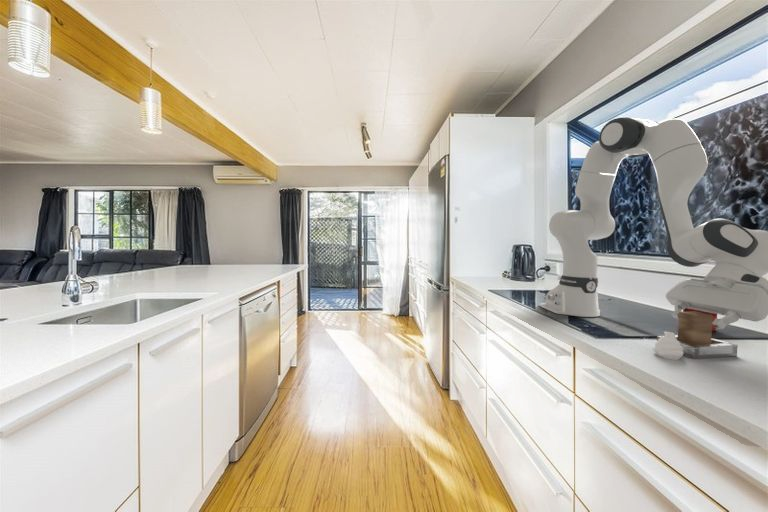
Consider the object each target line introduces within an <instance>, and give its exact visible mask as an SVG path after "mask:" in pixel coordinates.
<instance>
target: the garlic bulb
mask: <svg viewBox="0 0 768 512" xmlns="http://www.w3.org/2000/svg"><path fill="white" fill-rule="evenodd" d="M663 334H664V335H662V336H663V337H660V338H659V339H658V341H657V340H656V342H655V343H654V346H653V348H652V349H653V352H654V354H656V356H658V357H660V358H663V359H668V360H674V361H675V360H680V359H681V358H682V357H683V356H684V355H683V351H682V350H683V347H682V346H680V342H679V341H678V340H677V338H676V336H675V335H676V334H675V333H674V332H669V331H663Z"/></svg>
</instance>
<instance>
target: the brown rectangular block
mask: <svg viewBox="0 0 768 512" xmlns="http://www.w3.org/2000/svg"><path fill="white" fill-rule="evenodd" d="M712 322H713V315H711V314H706V313H701V312H696V311H688V312H683V311H681V312H679V319H678V326H677V327H678V328H677V330H678V331H677V335H678V341H681V342H684V343H688V344H691V345H702V344H711V338H712V336H713V335H712V334H713V333H712V332H713V331H712Z"/></svg>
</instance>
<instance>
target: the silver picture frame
mask: <svg viewBox="0 0 768 512" xmlns="http://www.w3.org/2000/svg"><path fill="white" fill-rule="evenodd" d="M663 336H664V335H657V336H656V342H657V341H658V339H659V338H660V337H663ZM675 336H676V338H677V340H678V334H675ZM679 342H680V346H682V347H683V350H682V351H683V356H684V357H688V358H690V359H693V360H696V359H709V358H710V359H713V358H727V357H729V358H730V357H737V356H738V349H739V348H738V347H739V345H738V344H735V343H732V342H727V341H724V340H720V339H718V338H714V337H713V338H712V337H711V344H702V345H691V344H688V343H684V342H681V341H679Z"/></svg>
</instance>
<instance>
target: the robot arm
mask: <svg viewBox="0 0 768 512" xmlns="http://www.w3.org/2000/svg"><path fill="white" fill-rule="evenodd" d="M648 155H649V158H650V159H651V162H652V164H653V165H652V166H653V167H654V171H655V175H656V179H657V198H658V199H657V200H658V203H659V207H660V212H661V216H662V220H663V223H664V227H665V228H664V229H665V231H666V238H667V239H666V251H667V254H668V256H669V258H671V259H672V260H673V261H674V262H675V263H676V264H678V265H681V266H683V267H687V268H694V267H700V266H702V265H704V264H705V263H708V262H710V261H714V262H715V265H714V266H713V267H712V269H711V270H709V272H708V273H707V274H706V276H704V278H703V279H702V278H701V279H699V278H698V279H696V278H688V279H685V280H681V281H679V282H678V283H676V284H675V285H674V286H672V288H670V290H669V291H668V292H667V293H666V294H665V298H666V300H667V301H668V303H670V305H672V306H674V310H673V311H672V313H671V316H672V318H673V319H677V320H679V312H683V310H684V309H685V308H689V309H695V310H700V311H705V312H710V313H715V314H717V315H720V316H723V317H721V318H718V317H717V318H716V319H715V320H714V321H713V322H712V325H713V326H714V327H715V328H716V329H720V330H724V329H725V328H726V326H729V325H730V324H733V323H735V322H738V321H739V320H741V319H742V320H746V321H750V322H756V323H757V322H760V321H763V320H765V319H766V318H767V316H768V280H767V279H766V277H763V276H765V275H766V274H768V231H767V230H762V229H750V228H747V227H743V226H741V224H739V223H737V222H735V221H733V220H730V219H727V218H714V219H711V220H709V221H706V222H704V223H702V224H700V225H697V226H695V227H694V225H693V221H692V217H691V214H690V210H689V206H688V200H689V197H690V195H691V193H692V191H693V190H694V188H695V187H696V186H697V184H698V183H699V182H700V180H701V179H702V178H703V176H704V175H705V173H706V172H707V169H708V157H707V153H706V151H705V149H704V147H703V145H702V143H701V141H700V140H699V137H698V136H697V135H696V133H695V132H694V130H693V129H692V128H691V126H690V125H689V124H688V123H687V122H686V121H685V120H683V119H681V118H670V119H665V120H662V121H660V122H657V121H652V120H649V119H646V118H632V117H627V116H626V117H616V118H614V119H611V120H610V121H608V122H607V123H605V124H604V125H603V127H602V129H600V132H599V136H598V141H595V142H594V143H593V144H592V145H590V147H589V149H588V151H587V153H586V155H585V158H584V160H583V163H582V165H581V169H580V172H579V175H578V179H577V182H576V186H575V189H574V192H575V196H576V197H577V198H579V202H580V207H579V208H580V210H575V209H568V210H562V211H558V212H556V213H554V214H553V215H552V216H551V218H550V220H549V223H548V227H549V228H548V229H549V232H550V234H551V235H552V236H554V238H556V240H557V241H558V243H559V246H560V249H561V251H562V252H561V253H562V260H563V261H562V265H563V266H562V275H560V277H558V280H559V282H558V285H556V286H555V287H553V288H552V289H550V290H549V291H548V292H547V293H546V295H545V296H546V297H545V302H541V303H538V306H539V307H540V308H543V309H545V310H547V311H549V312H552V313H554V314H557V315H565V316H566V315H567V316H575V317H585V318H594V317H595V318H596V317H600V316H601V315H600V313H601V309H600V308H599V298H598V297H599V296H598V295H599V294H598V291H597V288H598V286H599V285H598V284H599V280H598V279H599V278H598V276H597V273H598V256H597V254H596V253H595V252H593V251H592V249H591V247H590V245H589V241H598V240H602V239H606V238H608V237H610V236H611V235H612V234H613V233H614V231H615V228H616V220H615V219H614V217H613V216H612V214H611V211H610V199H611V197H610V196H611V193H612V188H613V187H614V182H615V180H616V176H617V172H618V169H619V166H620V164H621V162H623V160H624V159H625V158H627V157H628V158H630V159H635V158H638V157H639V158H640V157H645V156H648Z"/></svg>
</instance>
